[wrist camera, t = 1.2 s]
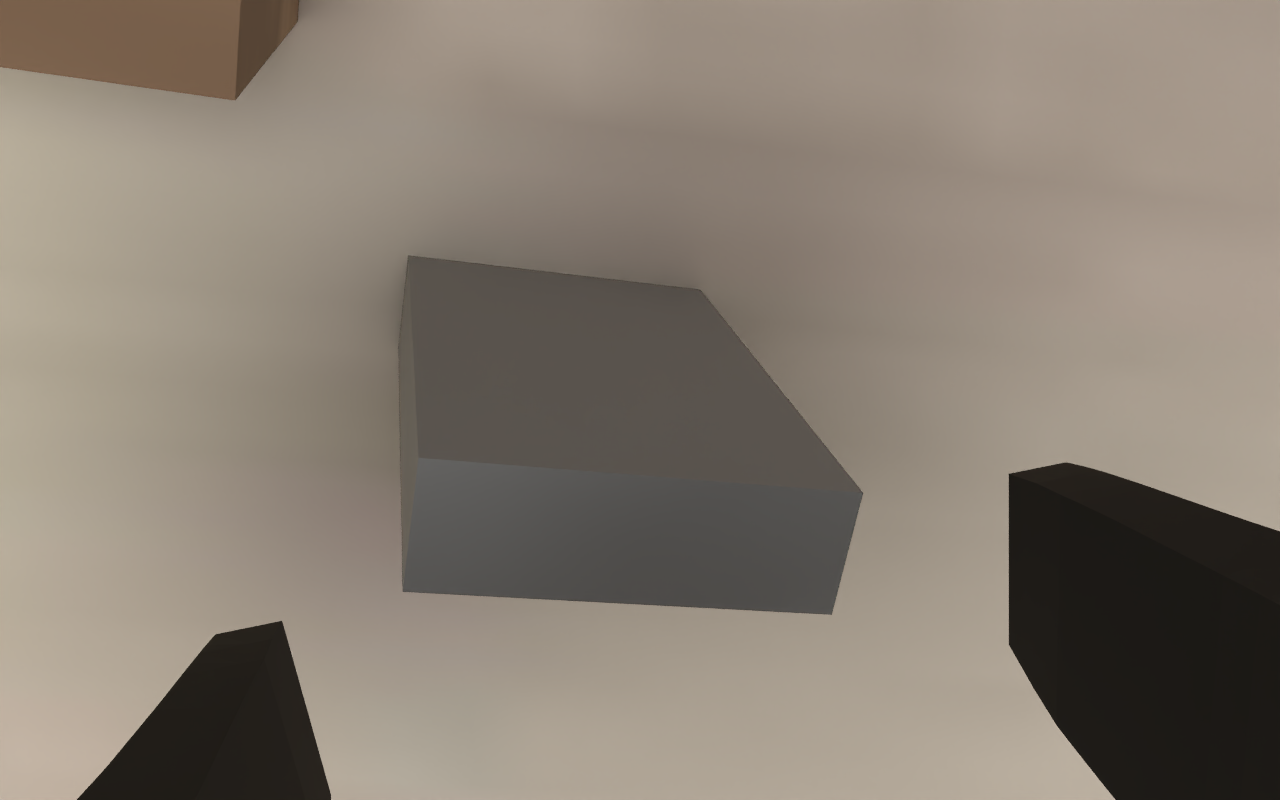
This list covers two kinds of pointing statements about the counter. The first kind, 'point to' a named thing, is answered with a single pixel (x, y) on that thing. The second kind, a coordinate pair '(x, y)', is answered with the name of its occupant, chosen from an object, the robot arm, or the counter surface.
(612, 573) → the grey domino
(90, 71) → the walnut domino
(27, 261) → the counter surface
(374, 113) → the counter surface
